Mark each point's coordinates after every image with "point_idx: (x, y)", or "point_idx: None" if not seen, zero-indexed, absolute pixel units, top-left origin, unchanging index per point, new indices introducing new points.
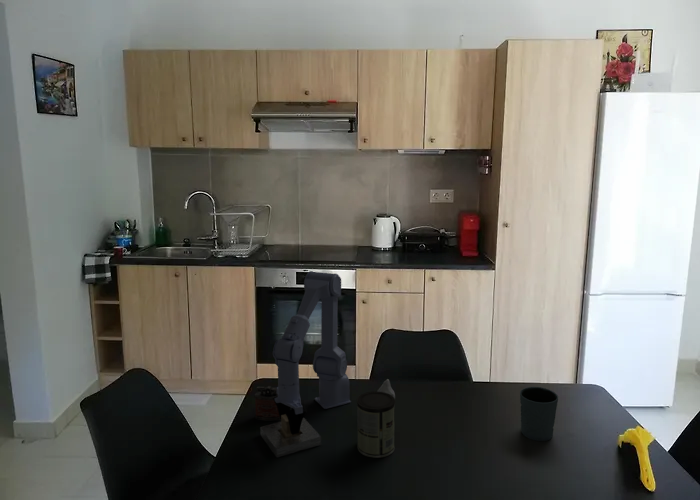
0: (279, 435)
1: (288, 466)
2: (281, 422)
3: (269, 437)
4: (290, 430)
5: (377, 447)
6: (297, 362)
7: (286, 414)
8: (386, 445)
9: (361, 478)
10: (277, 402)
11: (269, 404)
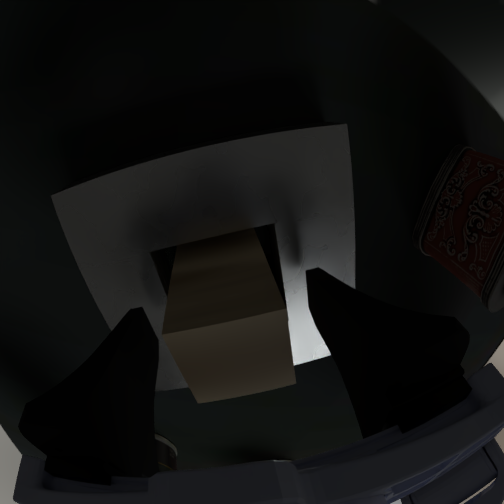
0: (195, 227)
1: (16, 230)
2: (267, 275)
3: (187, 160)
4: (130, 318)
5: None
6: None
7: (34, 415)
8: None
9: (8, 389)
10: (151, 484)
11: (483, 231)
